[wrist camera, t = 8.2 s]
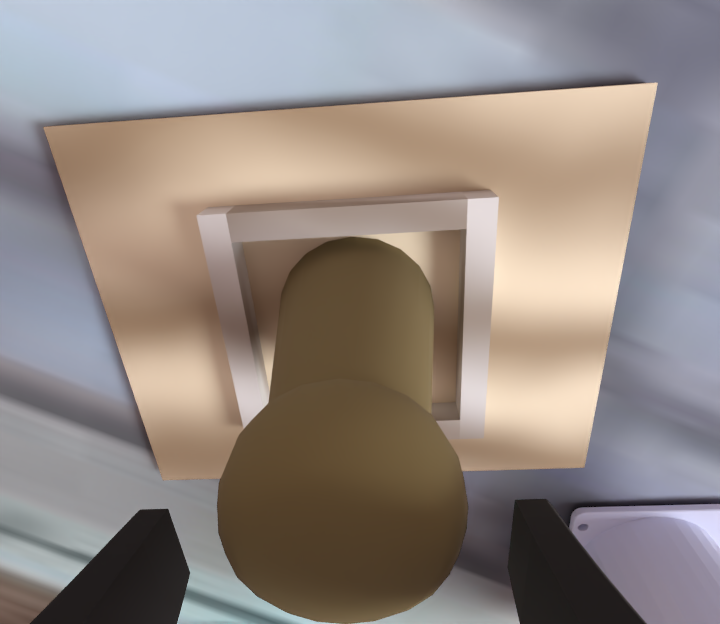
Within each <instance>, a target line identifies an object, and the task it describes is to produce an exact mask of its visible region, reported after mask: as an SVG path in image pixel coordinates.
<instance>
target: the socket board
mask: <svg viewBox="0 0 720 624" xmlns="http://www.w3.org/2000/svg"><path fill="white" fill-rule="evenodd" d="M656 88H657V83H639V84H626V85H612V86H598V87H584V88H570V89H556V90H542V91H529V92H515V93H501V94H487V95H473V96H459V97H446V98H432V99H418V100H404V101H390V102H376V103H362V104H349V105H335V106H321V107H307V108H293V109H279V110H266V111H252V112H238V113H224V114H210V115H196V116H182V117H169V118H155V119H141V120H127V121H113V122H99V123H86V124H72V125H58V126H48V127H43V128H44V131H45V134H46V137H47V140H48V143H49V146H50V149H51V152H52V155H53V157H54V160H55V163H56V166H57V169H58V172H59V175H60V178H61V181H62V184H63V187H64V190H65V193H66V196H67V199H68V202H69V205H70V208H71V211H72V214H73V217H74V219H75V222H76V225H77V228H78V231H79V234H80V237H81V240H82V243H83V246H84V249H85V252H86V255H87V258H88V261H89V264H90V267H91V270H92V273H93V276H94V279H95V281H96V284H97V287H98V290H99V293H100V296H101V299H102V302H103V305H104V308H105V311H106V314H107V317H108V320H109V323H110V326H111V329H112V332H113V335H114V338H115V340H116V343H117V346H118V349H119V352H120V355H121V358H122V361H123V364H124V367H125V370H126V373H127V376H128V379H129V382H130V385H131V388H132V391H133V394H134V397H135V400H136V402H137V405H138V408H139V411H140V414H141V417H142V420H143V423H144V426H145V429H146V432H147V435H148V438H149V441H150V444H151V447H152V450H153V453H154V456H155V459H156V462H157V464H158V467H159V470H160V473H161V476H162V479H163V480H188V479H221V476H222V474H223V472H224V469H225V467H226V464H227V462H228V459H229V457H230V455H231V452H232V450H233V447H234V445H235V443H236V440H237V438H238V436H239V434H240V433H241V432H242V431H243V429H244V428H245V427H246V426H247V425H248V424H249V422H250V421H251V420H252V419H253V418H254V417H255V416H256V415H257V414H258V413H259V412H260V411H261V410H262V409H263V408H264V407H265V406H266V405H267V404H268V402H269V394H270V385H271V377H272V368H273V360H274V352H275V343H276V335H277V327H278V318H279V310H280V301H281V293H282V290H283V287H284V285H285V282H286V280H287V277H288V275H289V272H290V271H291V270H292V268H293V267H294V266H295V265H296V264H297V263H298V262H299V261H300V259H301V258H302V257H303V256H304V255H305V254H306V253H308V252H309V251H311V250H313V249H315V248H317V247H318V246H320V245H322V244H324V243H325V242H327V241H332V240H337V239H342V238H347V237H362V238H371V239H379V240H381V241H383V242H385V243H388V244H390V245H392V246H395V247H397V248H399V249H401V250H402V251H403V252H405V253H406V254H407V255H408V256H409V257H410V258H411V259H412V260H414V261H415V262H416V263H417V264H418V265H419V266H420V268H421V270H422V271H423V273H424V275H425V277H426V279H427V280H428V282H429V284H430V286H431V291H432V297H433V304H434V335H433V372H432V409H431V414H432V416H433V417H434V419H435V420H436V422H437V423H438V425H439V427H440V428H441V430H442V431H443V433H444V434H445V436H446V438H447V439H448V441H449V442H450V444H451V446H452V447H453V449H454V450H455V452H456V454H457V455H458V457H459V461H460V465H461V469H462V471H487V470H520V469H553V468H584V466H585V461H586V456H587V451H588V445H589V440H590V435H591V430H592V424H593V419H594V414H595V409H596V403H597V398H598V393H599V388H600V382H601V377H602V372H603V367H604V361H605V356H606V351H607V346H608V340H609V335H610V330H611V325H612V319H613V314H614V309H615V304H616V298H617V293H618V288H619V283H620V277H621V272H622V267H623V262H624V256H625V251H626V246H627V241H628V235H629V230H630V225H631V220H632V214H633V209H634V204H635V199H636V193H637V188H638V183H639V178H640V172H641V167H642V162H643V157H644V151H645V146H646V141H647V136H648V130H649V125H650V120H651V115H652V109H653V104H654V99H655V94H656Z"/></svg>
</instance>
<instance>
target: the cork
mask: <svg viewBox="0 0 720 624" xmlns="http://www.w3.org/2000/svg"><path fill="white" fill-rule="evenodd" d="M433 335H434V304H433V297H432V291H431V286H430V284H429V282H428V280H427V279H426V277H425V275H424V273H423V271H422V270H421V268H420V266H419V265H418V264H417V263H416V262H415V261H414V260H412V259H411V258H410V257H409V256H408V255H407V254H406V253H405V252H403V251H402V250H401V249H399V248H397V247H395V246H392V245H390V244H388V243H385V242H383V241H381V240H379V239H371V238H362V237H347V238H342V239H337V240H332V241H327V242H325V243H324V244H322V245H320V246H318V247H317V248H315V249H313V250H311V251H309V252H308V253H306V254H305V255H304V256H303V257H302V258H301V259H300V261H299V262H298V263H297V264H296V265H295V266H294V267H293V268H292V270H291V271H290V272H289V275H288V277H287V280H286V282H285V285H284V287H283V290H282V293H281V301H280V310H279V318H278V327H277V335H276V343H275V352H274V360H273V368H272V377H271V385H270V394H269V402H268V404H267V405H266V406H265V407H264V408H263V409H262V410H261V411H260V412H259V413H258V414H257V415H256V416H255V417H254V418H253V419H252V420H251V421H250V422H249V424H248V425H247V426H246V427H245V428H244V429H243V431H242V432H241V433H240V434H239V436H238V438H237V440H236V443H235V445H234V447H233V450H232V452H231V455H230V457H229V459H228V462H227V464H226V467H225V469H224V472H223V474H222V476H221V479H220V481H219V488H218V502H217V512H218V533H219V536H220V539H221V542H222V545H223V548H224V551H225V554H226V556H227V558H228V560H229V562H230V564H231V566H232V568H233V570H234V572H235V574H236V576H237V578H239V579H240V580H241V581H242V582H243V583H244V584H245V585H246V586H247V587H248V588H249V589H250V590H251V591H252V592H253V593H254V594H255V595H256V596H257V597H259V598H261V599H263V600H265V601H267V602H268V603H270V604H272V605H274V606H276V607H278V608H279V609H281V610H283V611H285V612H287V613H289V614H293V615H296V616H300V617H303V618H306V619H310V620H313V621H317V622H328V623H339V624H351V623H360V622H370V621H376V620H379V619H382V618H385V617H388V616H391V615H395V614H398V613H401V612H404V611H407V610H409V609H411V608H412V607H414V606H416V605H417V604H419V603H420V602H422V601H423V600H425V599H427V598H428V597H430V596H431V595H433V594H434V592H435V591H436V590H437V589H438V588H439V586H440V585H441V584H442V583H443V581H444V580H445V579H446V578H447V577H448V575H449V574H450V572H451V570H452V568H453V566H454V564H455V562H456V560H457V558H458V556H459V553H460V550H461V546H462V543H463V539H464V536H465V532H466V529H467V515H468V502H467V496H466V490H465V483H464V477H463V473H462V469H461V465H460V461H459V457H458V455H457V454H456V452H455V450H454V449H453V447H452V446H451V444H450V442H449V441H448V439H447V438H446V436H445V434H444V433H443V431H442V430H441V428H440V427H439V425H438V423H437V422H436V420H435V419H434V417H433V416H432V414H431V409H432V372H433Z"/></svg>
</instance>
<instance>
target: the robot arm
mask: <svg viewBox="0 0 720 624" xmlns="http://www.w3.org/2000/svg"><path fill="white" fill-rule="evenodd" d="M508 570H509V575H510V580H511V585H512V590H513V594H514V599H515V603H516V608H517V612H518V617H519V621H520V624H720V504H695V505H656V506H617V507H582V508H578V509H576V510H574V511H573V513H572V515H571V520H570V525H569V528H568V526H567V525H566V524H565V522H564V521H563V519H562V518H561V517H560V515H559V514H558V513H557V511H556V510H555V509H554V507H553V506H552V504H551V503H550V502H549V501H547V500H546V499H529V500H515V505H514V514H513V523H512V533H511V542H510V551H509V560H508ZM189 575H190V571H189V568H188V566H187V563H186V560H185V557H184V554H183V551H182V548H181V545H180V542H179V539H178V536H177V534H176V531H175V528H174V525H173V522H172V519H171V516H170V513H169V510H168V509H147V510H139V511H138V512H137V513H136V514H135V515H134V516H133V517H132V518H131V520H130V521H129V522H128V523H127V524H126V525H125V526H124V527H123V528H122V529H121V530H120V531H119V532H118V533H117V534H116V535H115V536H114V537H113V538H112V539H111V540H110V541H109V542H108V544H107V545H106V546H105V547H104V548H103V549H102V550H101V551H100V552H99V553H98V554H97V555H96V556H95V557H94V558H93V559H92V560H91V561H90V562H89V564H88V565H87V566H86V567H85V568H84V569H83V570H82V571H81V572H80V573H79V574H78V575H77V576H76V577H75V578H74V579H73V580H72V581H71V582H70V583H69V584H68V585H67V586H66V587H65V588H64V589H63V590H62V591H61V592H60V593H59V594H58V596H57V597H56V598H55V599H54V600H53V601H52V602H51V603H50V604H49V605H48V606H47V607H46V608H45V609H44V610H43V611H42V612H41V613H40V614H39V615H38V616H37V617H36V618H35V619H34V620H33V621H32V622H31V623H30V624H177V621H178V617H179V614H180V610H181V606H182V603H183V599H184V595H185V591H186V587H187V583H188V579H189Z"/></svg>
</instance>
